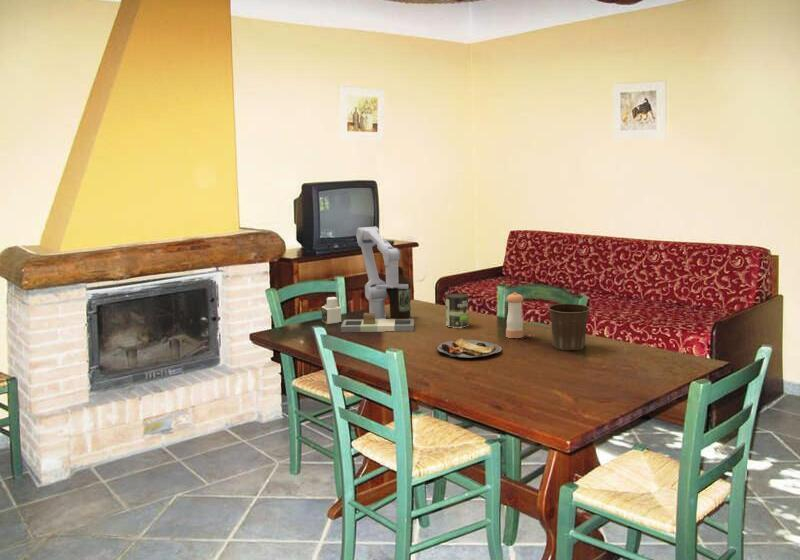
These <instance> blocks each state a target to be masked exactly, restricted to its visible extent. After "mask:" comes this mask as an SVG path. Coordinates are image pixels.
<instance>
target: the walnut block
mask: <svg viewBox="0 0 800 560" xmlns="http://www.w3.org/2000/svg"><path fill="white" fill-rule="evenodd" d="M362 316H363V318H362V319H363V324H375V313H369V312H363V315H362Z"/></svg>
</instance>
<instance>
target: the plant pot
mask: <svg viewBox="0 0 800 560" xmlns="http://www.w3.org/2000/svg"><path fill="white" fill-rule="evenodd" d="M547 310H549V318H550V323H551V324H550V325H551V335H552V347H553V346H554V347H553V348H554V349H556V350H559V349H561V350H560V351H563V350H572V351H575V350H577V351H580V350H579V349H581V350H583V349H584V348H585V345H586V344H585V343H586V342H585V341H586V334H587V333H586V332H587V325H588V319H589V314H590V311H591V307H589V306H587V305H584V304H578V303H577V304H576V303H557V304H552V305H549V306H548V307H547ZM582 348H583V349H582Z"/></svg>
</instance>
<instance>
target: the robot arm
mask: <svg viewBox="0 0 800 560" xmlns="http://www.w3.org/2000/svg"><path fill="white" fill-rule="evenodd" d="M355 233H356V234H355V237H356V240H357V241H356V242H357V245H358V247H360V249H361V253H362V258H363V261H364V265H365V270H366V274H367V278H368V281H367V282H366V284H365V285H364V294H365V295H364V296H365V298H366V299H367V301H368V304H369V305H368V307H369V312H368V313H375V319H387V314H386V313H385V312H386V311H385V308H386V307H385V300H387V298H388V299H389V298H390V301H391V305H394V302H395V298H396V295H397V292H398V289H408V284H399V281H398V266H399V261H400V260H401V251H400V249H399V248H398V247H394V246H393V245H391V243H390V242H389V241H388V240H387V239H383V237H382V236H381V235H380V230H379V227H377V226H376V225H374V226H365V227H361V226H360V227H358V228H357V229H356V232H355ZM375 246H377V247H376V248H377V250H378V251H379V252H380V253H381V254H382V258H383V261H384V263H383V264H384V266H385V281H384V280H383V279H381V278H380V277H379V271H378V269H377V264H376V260H375V259H376V258H375V255H374V251H373V250H374V249H373V247H375ZM395 287H396V288H395ZM392 289H393V300H392Z"/></svg>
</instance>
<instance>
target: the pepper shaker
mask: <svg viewBox="0 0 800 560" xmlns="http://www.w3.org/2000/svg"><path fill="white" fill-rule="evenodd" d="M505 299H506V301H507V303H508V304H507V305H508V306H507V308H508V309H507V317H506V328H505V338H506V337H508V338H507V339H509V338H521V337H523V338H524V328H523V326H524V325H523V323H524V320H523V313H522V303H523V302H524V296H523V295H522V294H519V293H517V292H516V291H514V292H513V293H510V294H508V295H507V296H506V298H505ZM521 339H522V338H521Z"/></svg>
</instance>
